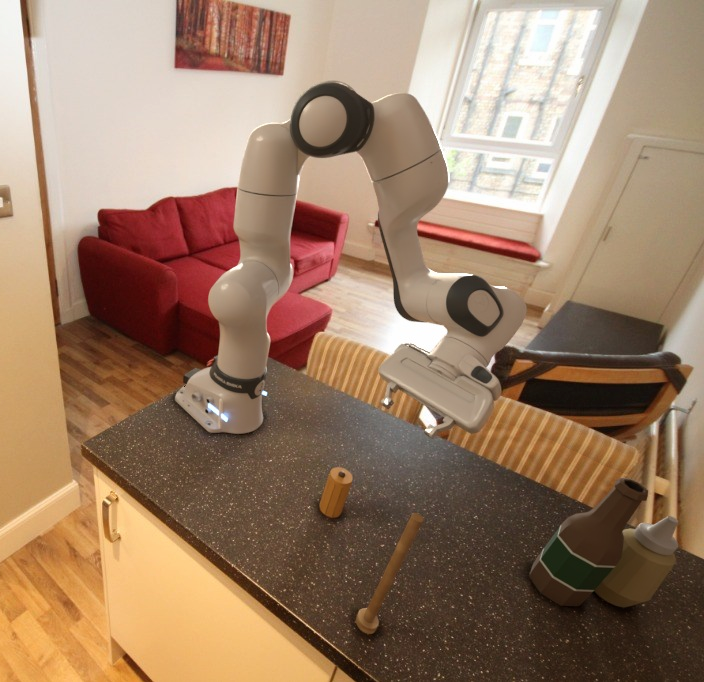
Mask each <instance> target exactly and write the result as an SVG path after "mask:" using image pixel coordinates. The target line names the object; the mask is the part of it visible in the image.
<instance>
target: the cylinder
mask: <svg viewBox="0 0 704 682" xmlns="http://www.w3.org/2000/svg"><path fill="white" fill-rule="evenodd" d="M352 484H353V475H352V473H351V472H350V471H349V470H347V469H346V468H344V467H340V466H339V467H338V466H337V467H333V468H332V469H331V470H330V472H329V474H328V477H327V479H326V483H325V486H324V489H323V492H322V495H321V498H320V502H319V505H318V506H319V511H320V512H321V513H322V514H323V515H324V516H326V517H328V518H333V519H334V518H335V519H336V518H338V517H340V516H341V514H342V512H343V509H344V506H345V504H346V501H347V498H348V495H349V493H350V489H351V488H352Z"/></svg>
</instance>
